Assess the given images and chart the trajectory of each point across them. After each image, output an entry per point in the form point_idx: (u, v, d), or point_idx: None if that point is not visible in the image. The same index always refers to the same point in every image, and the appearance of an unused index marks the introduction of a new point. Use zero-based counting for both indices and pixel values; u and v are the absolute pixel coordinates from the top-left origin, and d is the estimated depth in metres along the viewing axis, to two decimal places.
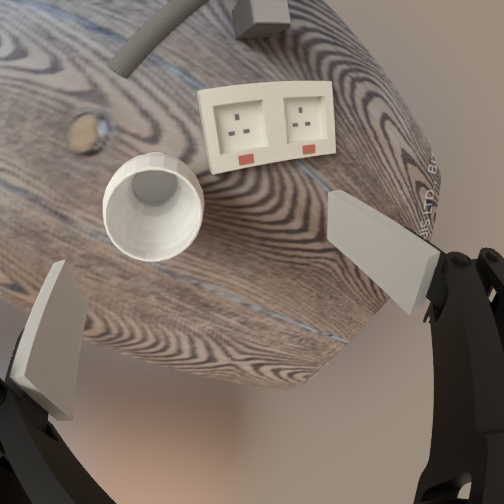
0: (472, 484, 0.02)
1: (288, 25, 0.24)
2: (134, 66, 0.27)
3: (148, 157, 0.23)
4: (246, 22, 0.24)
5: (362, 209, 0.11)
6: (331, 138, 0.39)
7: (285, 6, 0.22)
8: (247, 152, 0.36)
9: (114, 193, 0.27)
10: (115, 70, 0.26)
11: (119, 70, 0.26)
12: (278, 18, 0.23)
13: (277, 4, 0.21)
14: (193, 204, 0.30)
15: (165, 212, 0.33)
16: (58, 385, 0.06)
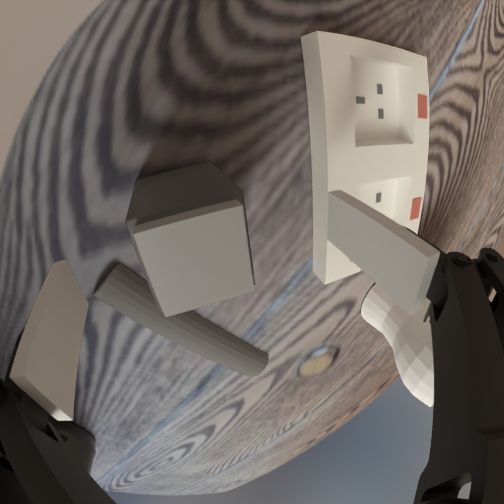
0: (472, 484, 0.02)
1: (239, 196, 0.11)
2: (258, 353, 0.28)
3: (422, 382, 0.19)
4: None
5: (362, 209, 0.11)
6: (410, 59, 0.15)
7: (181, 229, 0.10)
8: (410, 207, 0.22)
9: None
10: (259, 372, 0.28)
11: (261, 369, 0.28)
12: (233, 242, 0.11)
13: (182, 253, 0.11)
14: None
15: None
16: (58, 385, 0.06)
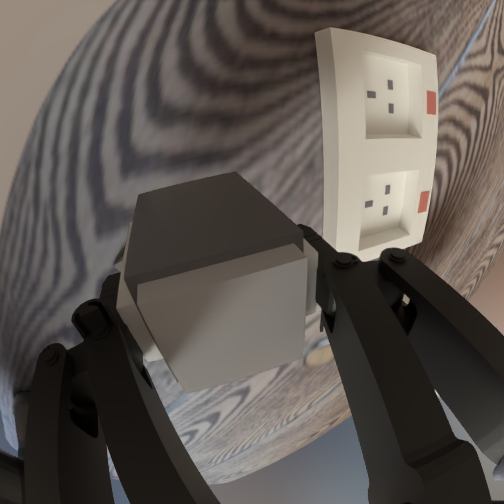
0: None
1: (298, 239, 0.08)
2: None
3: None
4: None
5: None
6: (420, 56, 0.15)
7: (213, 295, 0.07)
8: (418, 200, 0.22)
9: None
10: None
11: None
12: (288, 307, 0.08)
13: (213, 326, 0.07)
14: None
15: None
16: None
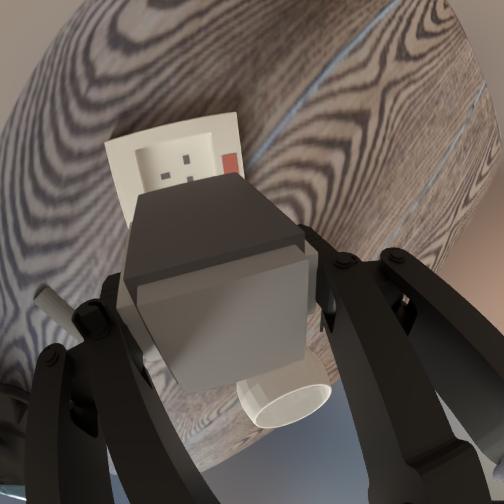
0: None
1: (299, 240, 0.08)
2: None
3: (243, 405, 0.27)
4: None
5: None
6: (209, 124, 0.22)
7: (214, 297, 0.07)
8: None
9: None
10: None
11: None
12: (289, 309, 0.08)
13: (213, 327, 0.07)
14: None
15: None
16: None
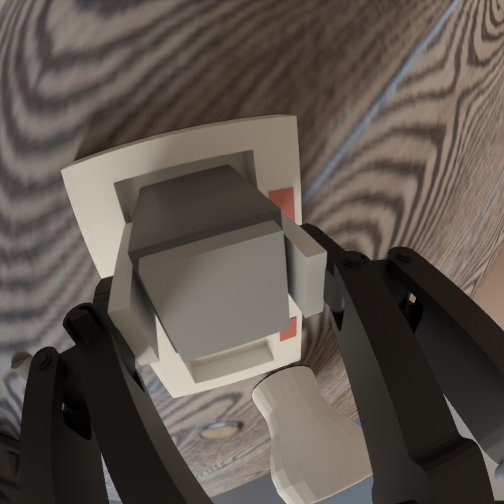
0: None
1: (276, 216, 0.09)
2: None
3: (280, 494, 0.17)
4: None
5: None
6: (250, 135, 0.12)
7: (203, 263, 0.08)
8: None
9: None
10: None
11: None
12: (270, 276, 0.09)
13: (203, 292, 0.08)
14: None
15: None
16: (148, 325, 0.09)
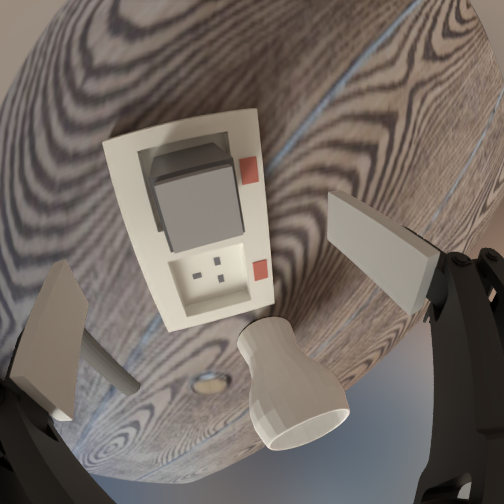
0: (472, 484, 0.02)
1: (231, 162, 0.15)
2: (133, 381, 0.33)
3: (256, 429, 0.24)
4: None
5: (362, 209, 0.11)
6: (226, 121, 0.19)
7: (188, 183, 0.14)
8: (250, 270, 0.26)
9: None
10: (131, 394, 0.33)
11: (132, 392, 0.33)
12: (226, 194, 0.15)
13: (188, 201, 0.15)
14: None
15: None
16: (58, 385, 0.06)
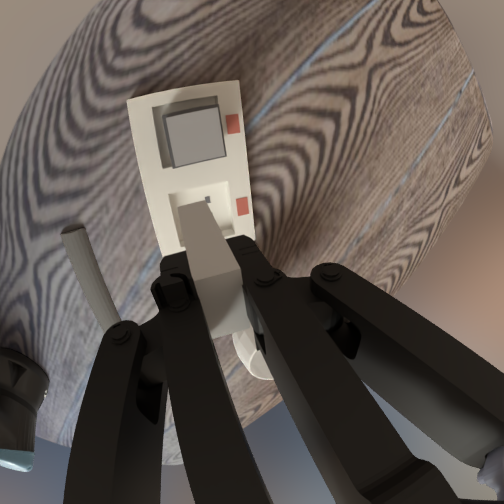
0: None
1: (217, 106, 0.21)
2: None
3: (238, 350, 0.29)
4: None
5: (202, 220, 0.11)
6: (216, 88, 0.25)
7: (188, 116, 0.20)
8: (234, 206, 0.32)
9: None
10: None
11: None
12: (213, 125, 0.21)
13: (188, 128, 0.21)
14: None
15: None
16: None
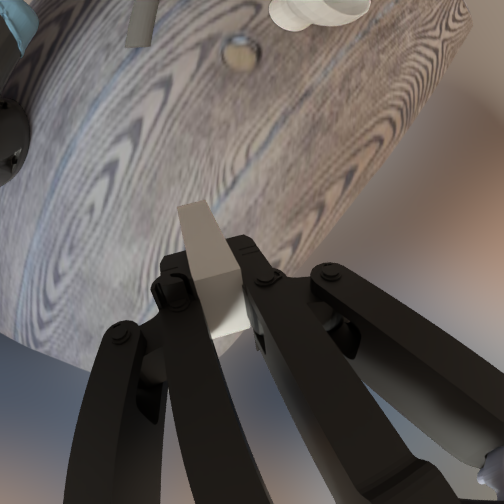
0: None
1: None
2: (150, 35, 0.27)
3: None
4: None
5: (202, 220, 0.11)
6: None
7: None
8: None
9: None
10: (136, 45, 0.27)
11: (140, 43, 0.27)
12: None
13: None
14: None
15: (325, 3, 0.26)
16: None
